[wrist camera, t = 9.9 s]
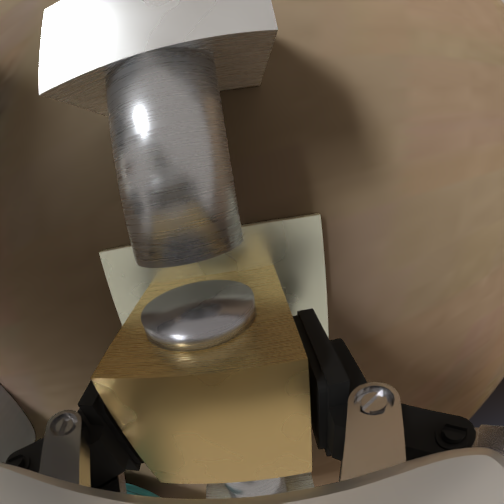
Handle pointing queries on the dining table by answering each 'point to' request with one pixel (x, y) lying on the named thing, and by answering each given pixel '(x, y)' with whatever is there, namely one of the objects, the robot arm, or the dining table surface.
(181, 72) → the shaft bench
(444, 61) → the dining table surface
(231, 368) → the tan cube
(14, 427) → the coffee mug
